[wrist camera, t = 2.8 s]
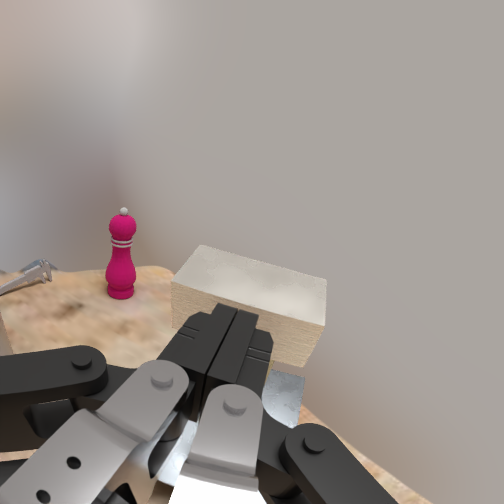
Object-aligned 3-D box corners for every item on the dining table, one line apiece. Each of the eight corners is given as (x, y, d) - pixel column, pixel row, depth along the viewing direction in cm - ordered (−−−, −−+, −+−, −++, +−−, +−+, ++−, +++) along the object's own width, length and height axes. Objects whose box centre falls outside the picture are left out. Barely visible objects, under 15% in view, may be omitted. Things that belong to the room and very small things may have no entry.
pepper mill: (101, 296, 56) (101, 209, 49) (112, 282, 62) (115, 201, 55) (130, 303, 57) (134, 214, 50) (139, 288, 63) (145, 206, 56)
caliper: (50, 280, 55) (48, 257, 53) (52, 282, 54) (50, 258, 52) (-19, 301, 38) (-24, 275, 36) (-18, 303, 37) (-24, 278, 35)
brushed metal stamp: (273, 514, 18) (406, 468, 7) (121, 463, 20) (26, 341, 8) (301, 383, 33) (372, 243, 22) (183, 348, 35) (189, 194, 24)
